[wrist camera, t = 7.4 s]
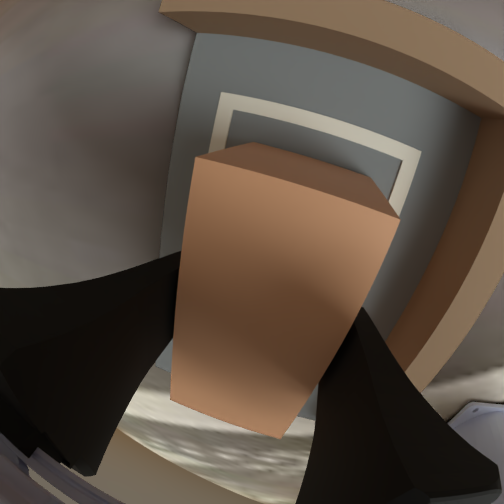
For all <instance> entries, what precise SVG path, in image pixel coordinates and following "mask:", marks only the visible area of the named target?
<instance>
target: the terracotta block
mask: <svg viewBox="0 0 504 504" xmlns="http://www.w3.org/2000/svg"><path fill="white" fill-rule="evenodd" d="M400 220H401V219H400V218H399V216H398V215H397V213H396V212H395V210H394V209H393V208H392V206H391V205H390V203H389V202H388V200H387V199H386V198H385V196H384V195H383V193H382V192H381V191H380V189H379V188H378V186H377V185H376V184H375V182H374V181H373V180H372V178H370V177H368V176H365V175H362V174H359V173H356V172H354V171H351V170H348V169H345V168H342V167H339V166H336V165H333V164H330V163H326V162H323V161H320V160H317V159H314V158H310V157H307V156H304V155H300V154H297V153H293V152H290V151H286V150H283V149H279V148H275V147H271V146H268V145H264V144H260V143H256V142H251V143H246V144H242V145H238V146H234V147H230V148H226V149H222V150H218V151H215V152H211V153H207V154H204V155H200V156H197V157H195V162H194V168H193V174H192V180H191V186H190V193H189V199H188V206H187V213H186V220H185V227H184V235H183V243H182V251H181V259H180V268H179V277H178V287H177V298H176V309H175V321H174V334H173V349H172V367H171V390H170V400H172V401H174V402H177V403H179V404H181V405H184V406H186V407H188V408H191V409H193V410H196V411H198V412H201V413H203V414H206V415H208V416H211V417H214V418H216V419H219V420H222V421H225V422H227V423H230V424H233V425H236V426H239V427H242V428H245V429H248V430H251V431H255V432H258V433H261V434H264V435H268V436H271V437H275V438H278V439H281V437H282V436H283V435H284V433H285V432H286V430H287V429H288V428H289V426H290V425H291V423H292V422H293V420H294V419H295V418H296V416H297V415H298V413H299V412H300V410H301V409H302V407H303V406H304V404H305V403H306V401H307V400H308V398H309V397H310V395H311V394H312V392H313V390H314V389H315V387H316V386H317V384H318V383H319V381H320V379H321V378H322V376H323V374H324V373H325V371H326V370H327V368H328V366H329V365H330V363H331V361H332V359H333V358H334V356H335V354H336V353H337V351H338V349H339V347H340V346H341V344H342V342H343V340H344V338H345V337H346V335H347V333H348V331H349V329H350V327H351V326H352V324H353V322H354V320H355V318H356V316H357V314H358V312H359V310H360V308H361V307H362V305H363V303H364V301H365V299H366V297H367V295H368V293H369V290H370V288H371V286H372V284H373V282H374V280H375V278H376V276H377V274H378V272H379V269H380V267H381V265H382V263H383V261H384V258H385V256H386V254H387V251H388V249H389V247H390V245H391V242H392V240H393V237H394V235H395V233H396V230H397V228H398V225H399V223H400Z"/></svg>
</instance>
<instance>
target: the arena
mask: <svg viewBox="0 0 504 504" xmlns="http://www.w3.org/2000/svg"><path fill="white" fill-rule="evenodd" d="M159 13H161V14H163V15H165V16H167V17H169V18H171V19H173V20H175V21H177V22H178V23H180V24H182V25H184V26H186V27H188V28H189V29H191V30H193V31H195V32H196V33H197V34H196V38H195V42H194V46H193V49H192V53H191V57H190V62H189V66H188V70H187V74H186V79H185V83H184V88H183V93H182V98H181V103H180V108H179V113H178V118H177V123H176V129H175V135H174V141H173V147H172V153H171V159H170V166H169V173H168V180H167V188H166V196H165V204H164V213H163V222H162V232H161V243H160V255H159V258H162V257H164V256H167V255H170V254H173V253H175V252H179V251H182V243H183V235H184V227H185V220H186V213H187V206H188V199H189V193H190V186H191V180H192V174H193V168H194V162H195V157H197V156H200V155H204V154H207V153H211V152H215V151H218V150H222V149H226V148H230V147H234V146H238V145H242V144H246V143H251V142H256V143H260V144H264V145H268V146H271V147H275V148H279V149H283V150H286V151H290V152H293V153H297V154H300V155H304V156H307V157H310V158H314V159H317V160H320V161H323V162H326V163H330V164H333V165H336V166H339V167H342V168H345V169H348V170H351V171H354V172H356V173H359V174H362V175H365V176H368V177H370V178H372V180H373V181H374V182H375V184H376V185H377V186H378V188H379V189H380V191H381V192H382V193H383V195H384V196H385V198H386V199H387V200H388V202H389V203H390V205H391V206H392V208H393V209H394V210H395V212H396V213H397V215H398V216H399V218H400V219H401V220H400V223H399V225H398V228H397V230H396V233H395V235H394V237H393V240H392V242H391V245H390V247H389V249H388V251H387V254H386V256H385V258H384V261H383V263H382V265H381V267H380V269H379V272H378V274H377V276H376V278H375V280H374V282H373V284H372V286H371V288H370V290H369V293H368V295H367V297H366V299H365V301H364V303H363V305H362V307H364V309H365V310H366V312H367V313H368V315H369V316H370V318H371V320H372V321H373V323H374V325H375V326H376V328H377V330H378V331H379V333H380V335H381V336H382V338H383V340H384V341H385V343H386V344H387V346H388V348H389V349H390V351H391V353H392V354H393V356H394V357H395V359H396V360H397V362H398V363H399V365H400V366H401V368H402V369H403V371H404V372H405V374H406V375H407V377H408V378H409V379H410V381H411V382H412V383H413V385H414V386H415V387H416V388H417V390H418V391H419V392H420V393H421V392H422V391H423V390H424V389H425V387H426V386H427V385H428V384H429V383H430V382H431V380H432V379H433V378H434V377H435V376H436V374H437V373H438V372H439V371H440V369H441V368H442V367H443V366H444V364H445V363H446V362H447V361H448V359H449V358H450V357H451V355H452V354H453V353H454V351H455V350H456V349H457V347H458V346H459V345H460V343H461V342H462V340H463V339H464V337H465V336H466V335H467V333H468V332H469V330H470V329H471V327H472V326H473V324H474V323H475V321H476V320H477V318H478V317H479V315H480V313H481V312H482V310H483V309H484V307H485V305H486V304H487V302H488V300H489V298H490V297H491V295H492V293H493V292H494V290H495V288H496V286H497V284H498V283H499V281H500V279H501V277H502V275H503V273H504V61H502V60H501V59H499V58H498V57H497V56H495V55H494V54H492V53H491V52H489V51H487V50H486V49H484V48H483V47H481V46H479V45H478V44H476V43H475V42H473V41H471V40H469V39H468V38H466V37H464V36H462V35H461V34H459V33H457V32H455V31H453V30H451V29H449V28H447V27H446V26H444V25H442V24H439V23H437V22H435V21H433V20H431V19H429V18H427V17H425V16H422V15H420V14H418V13H415V12H413V11H411V10H408V9H406V8H403V7H401V6H398V5H395V4H393V3H390V2H387V1H384V0H162V2H161V5H160V9H159ZM172 349H173V339H172V340H171V341H170V343H169V344H168V345H167V347H166V348H165V349H164V351H163V352H162V353H161V355H160V356H159V357H158V359H157V360H156V367H158V368H161V369H163V370H165V371H167V372H170V373H171V367H172ZM317 395H318V384H317V386H316V387H315V389H314V390H313V392H312V394H311V395H310V397H309V398H308V400H307V401H306V403H305V404H304V406H303V407H302V409H301V410H300V412H299V413H298V415H297V416H299V417H303V418H307V419H311V420H315V421H316V409H317Z"/></svg>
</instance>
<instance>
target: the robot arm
mask: <svg viewBox="0 0 504 504" xmlns="http://www.w3.org/2000/svg"><path fill="white" fill-rule="evenodd" d="M180 259H181V251H179V252H175V253H173V254H170V255H167V256H164V257H162V258H159V259H156V260H153V261H150V262H148V263H145V264H142V265H139V266H136V267H133V268H130V269H127V270H124V271H121V272H117V273H114V274H111V275H107V276H104V277H100V278H96V279H91V280H87V281H82V282H77V283H70V284H63V285H56V286H48V287H36V288H0V504H65V503H64V502H62V501H61V500H59V499H58V498H57V497H55V496H54V495H53V494H51V493H50V492H49V491H47V490H46V489H44V488H43V487H42V486H41V485H39V484H38V483H37V482H35V481H34V480H33V479H32V478H31V477H30V476H29V469H28V467H27V465H28V466H29V467H30V468H31V469H32V470H34V471H35V472H36V473H37V474H39V475H40V476H41V477H42V478H44V479H45V480H46V481H47V482H49V483H50V484H51V485H53V486H54V487H56V488H57V489H58V490H60V491H61V492H63V493H64V494H65V495H67V496H68V497H70V498H71V499H73V500H74V501H76V502H77V503H79V504H124V503H122V502H121V501H119V500H117V499H115V498H113V497H111V496H109V495H108V494H106V493H104V492H102V491H101V490H99V489H97V488H96V487H94V486H92V485H91V484H89V483H87V482H86V481H84V480H83V479H81V478H80V477H78V476H77V475H75V474H74V473H72V472H71V471H69V470H68V469H66V468H65V467H63V466H62V465H61V464H60V463H63V464H64V465H66V466H67V467H69V468H70V469H71V468H73V469H74V470H75V471H77V472H78V473H80V474H82V475H83V476H93V475H96V473H97V470H98V467H99V465H100V463H101V461H102V458H103V455H104V453H105V451H106V449H107V446H108V444H109V442H110V440H111V438H112V436H113V434H114V432H115V430H116V428H117V425H118V423H119V421H120V420H121V418H122V416H123V414H124V412H125V410H126V408H127V406H128V404H129V402H130V401H131V399H132V397H133V395H134V394H135V392H136V390H137V388H138V386H139V385H140V383H141V381H142V380H143V378H144V377H145V375H146V374H147V372H148V371H149V369H150V368H151V367H152V365H153V364H154V363H155V361H156V360H157V359H158V357H159V356H160V355H161V353H162V352H163V351H164V349H165V348H166V347H167V345H168V344H169V343H170V341H171V340H172V339H173V334H174V321H175V309H176V298H177V287H178V277H179V268H180ZM26 464H27V465H26ZM296 504H504V405H502V404H490V403H480V402H471V403H469V404H467V405H466V406H465V407H464V408H463V409H462V410H461V411H460V412H459V413H458V414H457V415H456V416H455V417H454V418H453V419H452V420H450V421H449V422H448V423H446V422H445V421H444V420H443V419H442V417H441V416H440V415H439V414H438V413H437V412H436V411H435V410H434V409H433V408H432V407H431V406H430V404H429V403H428V402H427V401H426V400H425V399H424V397H423V396H422V395H421V393H420V392H419V391H418V390H417V388H416V387H415V386H414V385H413V383H412V382H411V381H410V379H409V378H408V377H407V375H406V374H405V372H404V371H403V369H402V368H401V366H400V365H399V363H398V362H397V360H396V359H395V357H394V356H393V354H392V353H391V351H390V349H389V348H388V346H387V344H386V343H385V341H384V340H383V338H382V336H381V335H380V333H379V331H378V330H377V328H376V326H375V325H374V323H373V321H372V320H371V318H370V316H369V315H368V313H367V312H366V310H365V309H364V307H361V308H360V310H359V312H358V314H357V316H356V318H355V320H354V322H353V324H352V326H351V327H350V329H349V331H348V333H347V335H346V337H345V338H344V340H343V342H342V344H341V346H340V347H339V349H338V351H337V353H336V354H335V356H334V358H333V359H332V361H331V363H330V365H329V366H328V368H327V370H326V371H325V373H324V374H323V376H322V378H321V379H320V381H319V383H318V395H317V409H316V421H315V431H314V438H313V443H312V447H311V452H310V456H309V460H308V464H307V468H306V471H305V475H304V479H303V482H302V485H301V489H300V492H299V495H298V498H297V501H296Z"/></svg>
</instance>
